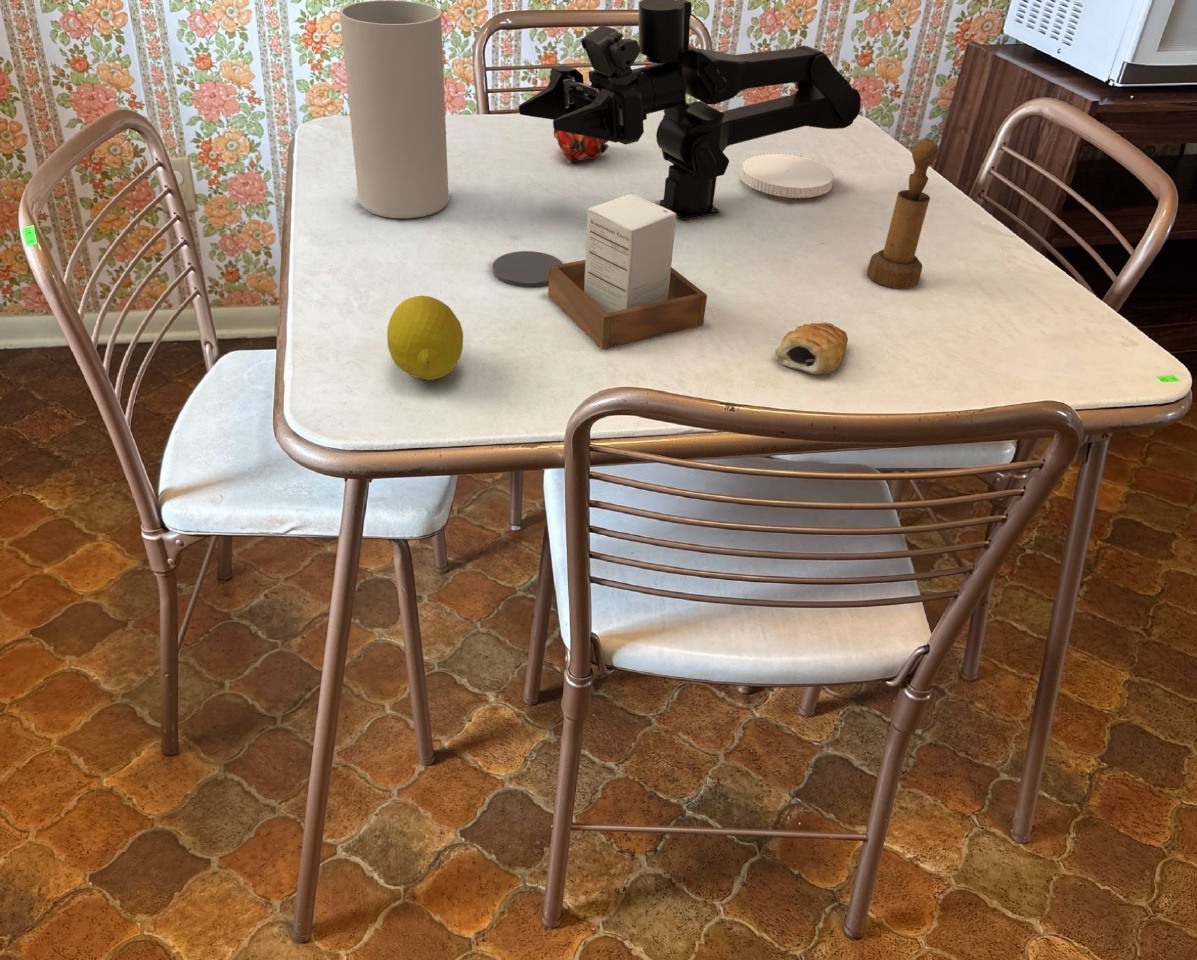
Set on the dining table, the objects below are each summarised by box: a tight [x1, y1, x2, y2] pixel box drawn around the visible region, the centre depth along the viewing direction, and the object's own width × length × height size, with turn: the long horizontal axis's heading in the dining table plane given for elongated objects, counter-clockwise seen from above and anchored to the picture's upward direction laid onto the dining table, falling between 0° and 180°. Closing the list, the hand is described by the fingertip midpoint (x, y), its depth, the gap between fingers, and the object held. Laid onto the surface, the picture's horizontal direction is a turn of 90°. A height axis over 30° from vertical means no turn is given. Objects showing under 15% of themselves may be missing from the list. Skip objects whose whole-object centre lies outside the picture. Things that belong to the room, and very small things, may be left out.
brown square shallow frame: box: [547, 259, 708, 350], centre depth 117 cm, size 14×14×4 cm
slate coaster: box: [492, 250, 564, 288], centre depth 125 cm, size 9×9×1 cm
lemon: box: [386, 295, 464, 381], centre depth 103 cm, size 11×8×8 cm
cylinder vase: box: [339, 0, 450, 220], centre depth 132 cm, size 12×12×25 cm
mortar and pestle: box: [866, 137, 940, 289], centre depth 123 cm, size 7×6×18 cm
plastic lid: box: [740, 153, 835, 199], centre depth 152 cm, size 14×14×2 cm
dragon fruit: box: [553, 128, 609, 164], centre depth 155 cm, size 8×8×12 cm
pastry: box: [775, 322, 849, 375], centre depth 111 cm, size 9×7×4 cm
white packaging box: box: [584, 193, 677, 313], centre depth 114 cm, size 7×7×13 cm
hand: (536, 117), depth 122 cm, fingers open, 9 cm apart
